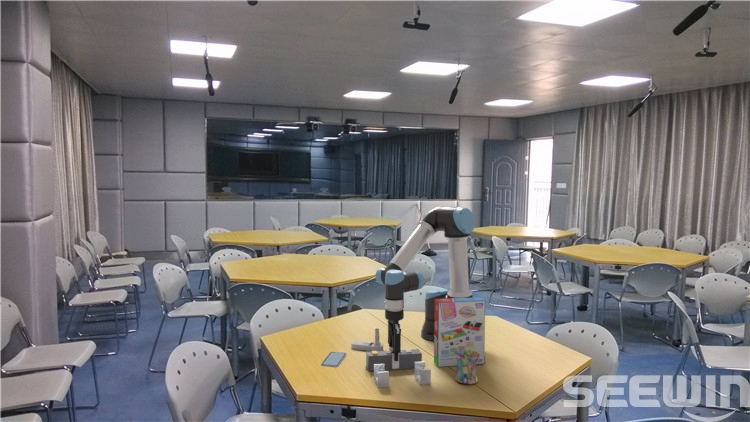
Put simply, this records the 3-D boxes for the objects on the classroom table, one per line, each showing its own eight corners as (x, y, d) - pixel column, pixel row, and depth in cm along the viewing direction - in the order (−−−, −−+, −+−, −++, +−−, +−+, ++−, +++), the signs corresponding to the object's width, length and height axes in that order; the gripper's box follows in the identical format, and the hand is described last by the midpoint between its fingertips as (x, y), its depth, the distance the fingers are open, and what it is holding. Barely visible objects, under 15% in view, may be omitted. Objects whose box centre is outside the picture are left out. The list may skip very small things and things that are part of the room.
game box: (479, 360, 203) (481, 296, 202) (485, 364, 198) (486, 300, 196) (432, 362, 199) (434, 298, 198) (436, 367, 194) (438, 301, 193)
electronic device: (353, 325, 220) (384, 327, 215) (354, 346, 220) (384, 349, 215) (349, 328, 215) (380, 331, 210) (349, 349, 215) (381, 353, 210)
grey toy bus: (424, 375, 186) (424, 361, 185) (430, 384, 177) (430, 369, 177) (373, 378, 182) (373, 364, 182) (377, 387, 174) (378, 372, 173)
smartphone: (320, 364, 194) (330, 351, 209) (320, 367, 194) (330, 353, 209) (337, 366, 193) (346, 352, 207) (337, 368, 193) (346, 355, 207)
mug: (452, 376, 185) (453, 349, 185) (476, 376, 185) (477, 349, 184) (456, 389, 173) (457, 360, 173) (482, 389, 173) (482, 361, 172)
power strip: (418, 363, 198) (418, 347, 197) (421, 367, 193) (421, 351, 193) (366, 366, 194) (366, 350, 193) (368, 371, 189) (368, 354, 188)
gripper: (380, 303, 200) (380, 358, 201) (390, 315, 182) (389, 374, 184) (398, 303, 201) (397, 357, 203) (409, 314, 184) (408, 373, 185)
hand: (393, 365), depth 193 cm, fingers closed on power strip, 5 cm apart
